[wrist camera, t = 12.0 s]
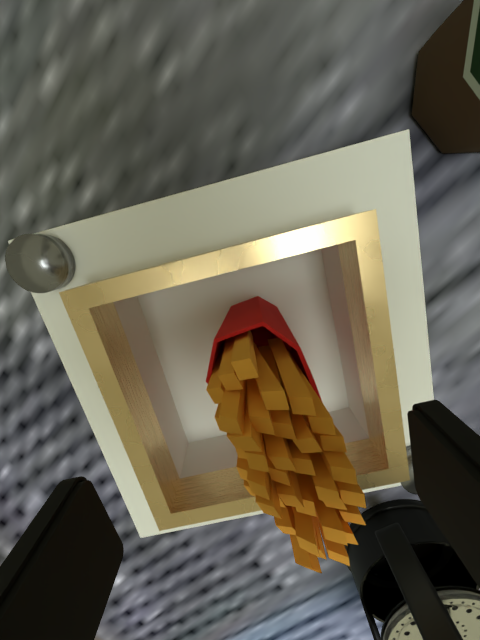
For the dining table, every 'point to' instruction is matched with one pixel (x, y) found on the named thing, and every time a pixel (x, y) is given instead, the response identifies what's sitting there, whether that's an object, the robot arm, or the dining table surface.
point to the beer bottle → (451, 82)
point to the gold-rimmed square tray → (213, 305)
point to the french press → (412, 577)
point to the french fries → (283, 433)
